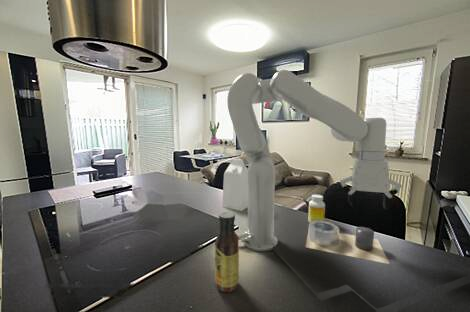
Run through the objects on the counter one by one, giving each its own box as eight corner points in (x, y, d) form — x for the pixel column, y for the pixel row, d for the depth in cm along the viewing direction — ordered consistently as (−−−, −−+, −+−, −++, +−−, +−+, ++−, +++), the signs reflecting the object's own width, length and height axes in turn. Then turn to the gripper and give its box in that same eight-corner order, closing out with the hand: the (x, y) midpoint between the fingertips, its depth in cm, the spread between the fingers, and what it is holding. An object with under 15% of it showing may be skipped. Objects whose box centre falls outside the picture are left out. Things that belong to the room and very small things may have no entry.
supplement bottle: (325, 228, 89) (327, 198, 88) (309, 226, 90) (310, 197, 89) (322, 221, 96) (323, 194, 94) (307, 220, 97) (308, 193, 96)
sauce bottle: (215, 277, 59) (214, 209, 57) (237, 276, 59) (237, 208, 57) (215, 295, 52) (214, 219, 50) (240, 293, 53) (240, 218, 51)
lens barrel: (321, 249, 71) (322, 234, 71) (303, 235, 80) (303, 222, 80) (344, 243, 74) (345, 230, 74) (324, 231, 84) (324, 219, 83)
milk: (251, 204, 119) (251, 158, 116) (241, 211, 109) (241, 161, 106) (233, 200, 125) (233, 157, 122) (222, 206, 115) (221, 159, 112)
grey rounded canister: (364, 252, 69) (366, 234, 68) (351, 244, 74) (352, 228, 73) (376, 249, 71) (377, 232, 70) (362, 241, 76) (363, 225, 75)
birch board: (305, 250, 72) (305, 247, 72) (308, 230, 87) (308, 227, 87) (389, 267, 63) (389, 264, 63) (377, 242, 78) (377, 239, 77)
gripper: (341, 156, 69) (340, 207, 71) (407, 158, 62) (403, 214, 64) (340, 154, 76) (338, 200, 78) (399, 155, 69) (396, 206, 71)
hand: (368, 206), depth 71 cm, fingers open, 9 cm apart
